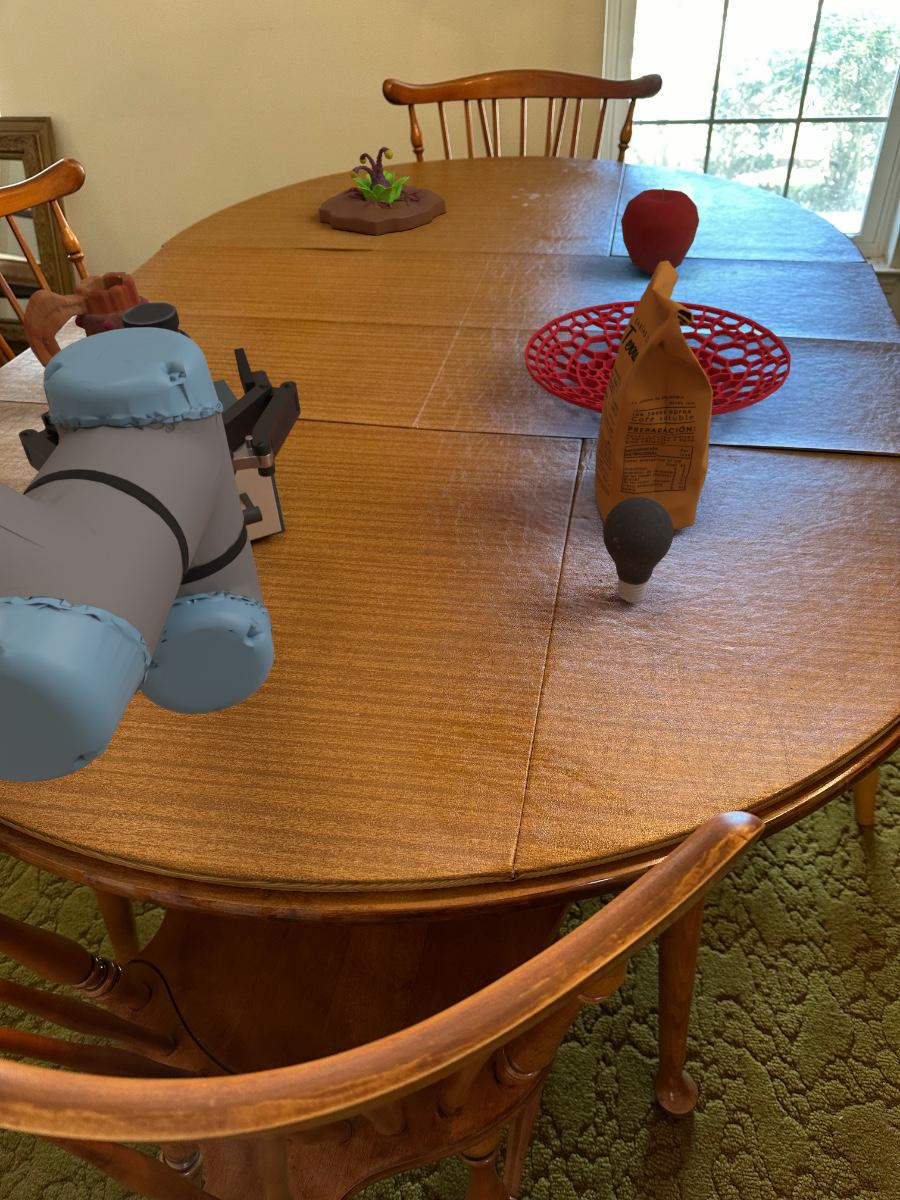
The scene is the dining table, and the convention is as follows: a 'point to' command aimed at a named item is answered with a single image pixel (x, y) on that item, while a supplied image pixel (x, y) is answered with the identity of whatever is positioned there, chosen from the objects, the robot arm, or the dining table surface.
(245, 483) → the drawer
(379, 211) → the plant
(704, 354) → the bowl
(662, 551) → the light bulb
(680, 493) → the coffee package
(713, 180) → the dining table surface
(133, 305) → the mug
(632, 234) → the apple
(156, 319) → the pill bottle
